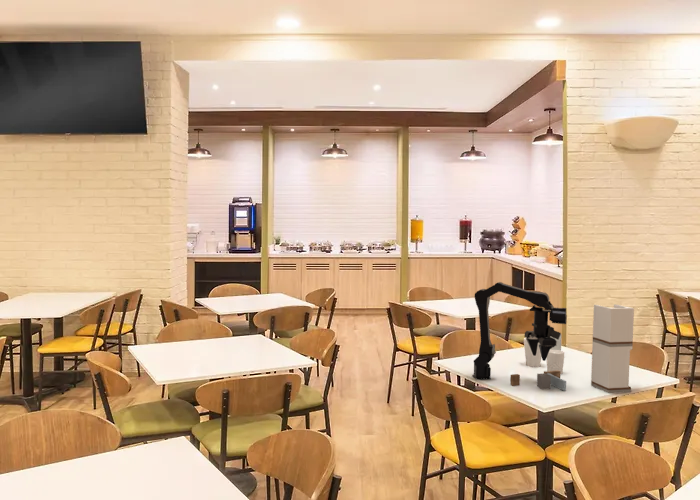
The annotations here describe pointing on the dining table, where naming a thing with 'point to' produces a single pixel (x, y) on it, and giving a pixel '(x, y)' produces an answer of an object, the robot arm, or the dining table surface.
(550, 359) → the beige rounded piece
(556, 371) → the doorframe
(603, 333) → the striped white pillar
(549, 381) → the block
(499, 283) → the robot arm
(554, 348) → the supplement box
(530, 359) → the foam cup
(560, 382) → the door
